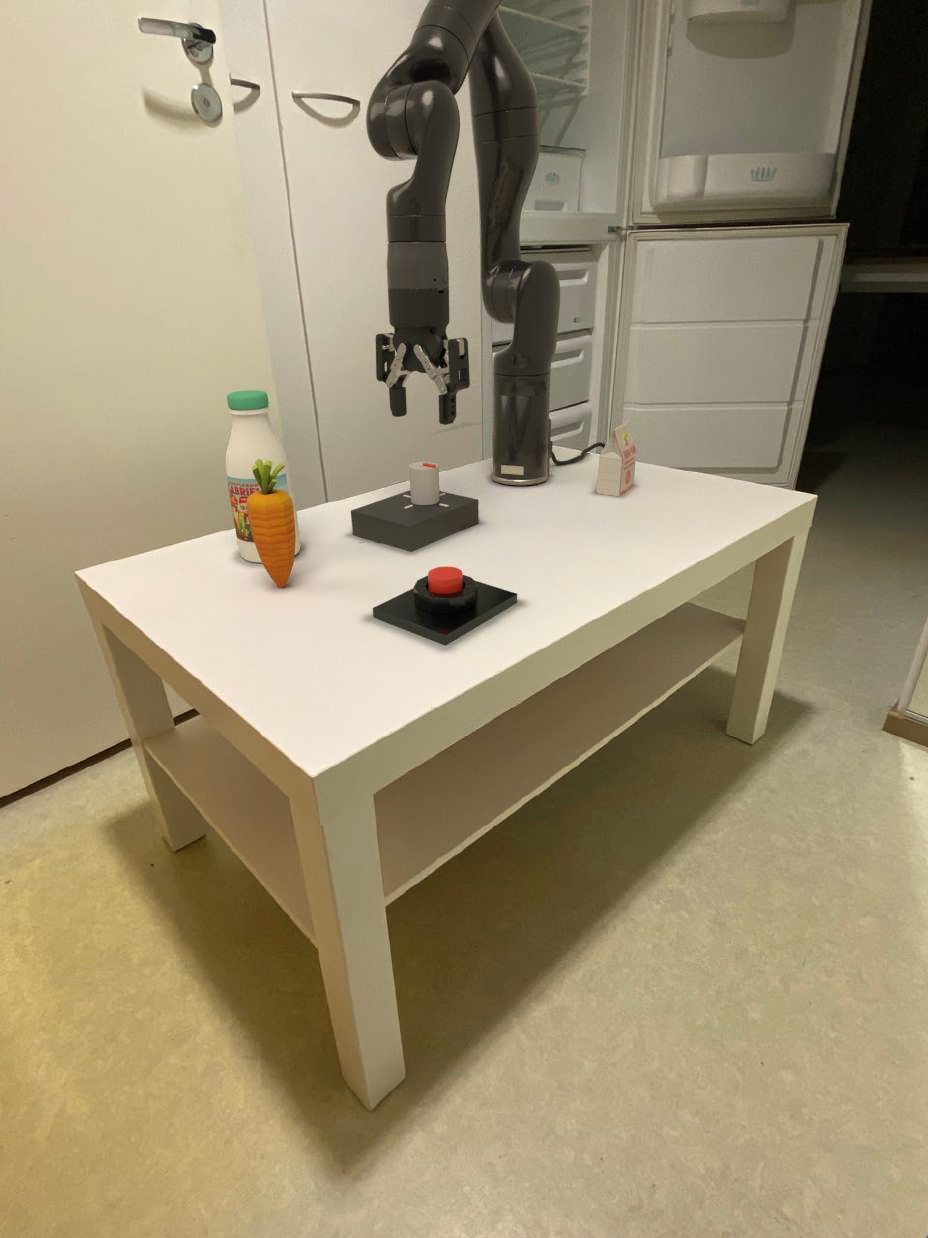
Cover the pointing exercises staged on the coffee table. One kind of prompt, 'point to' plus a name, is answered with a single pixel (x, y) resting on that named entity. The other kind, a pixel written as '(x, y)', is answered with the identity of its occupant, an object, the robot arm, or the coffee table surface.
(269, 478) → the carrot
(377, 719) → the coffee table surface
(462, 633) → the power switch
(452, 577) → the power button
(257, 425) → the milk bottle
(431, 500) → the timer knob
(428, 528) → the panel
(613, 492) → the milk carton
